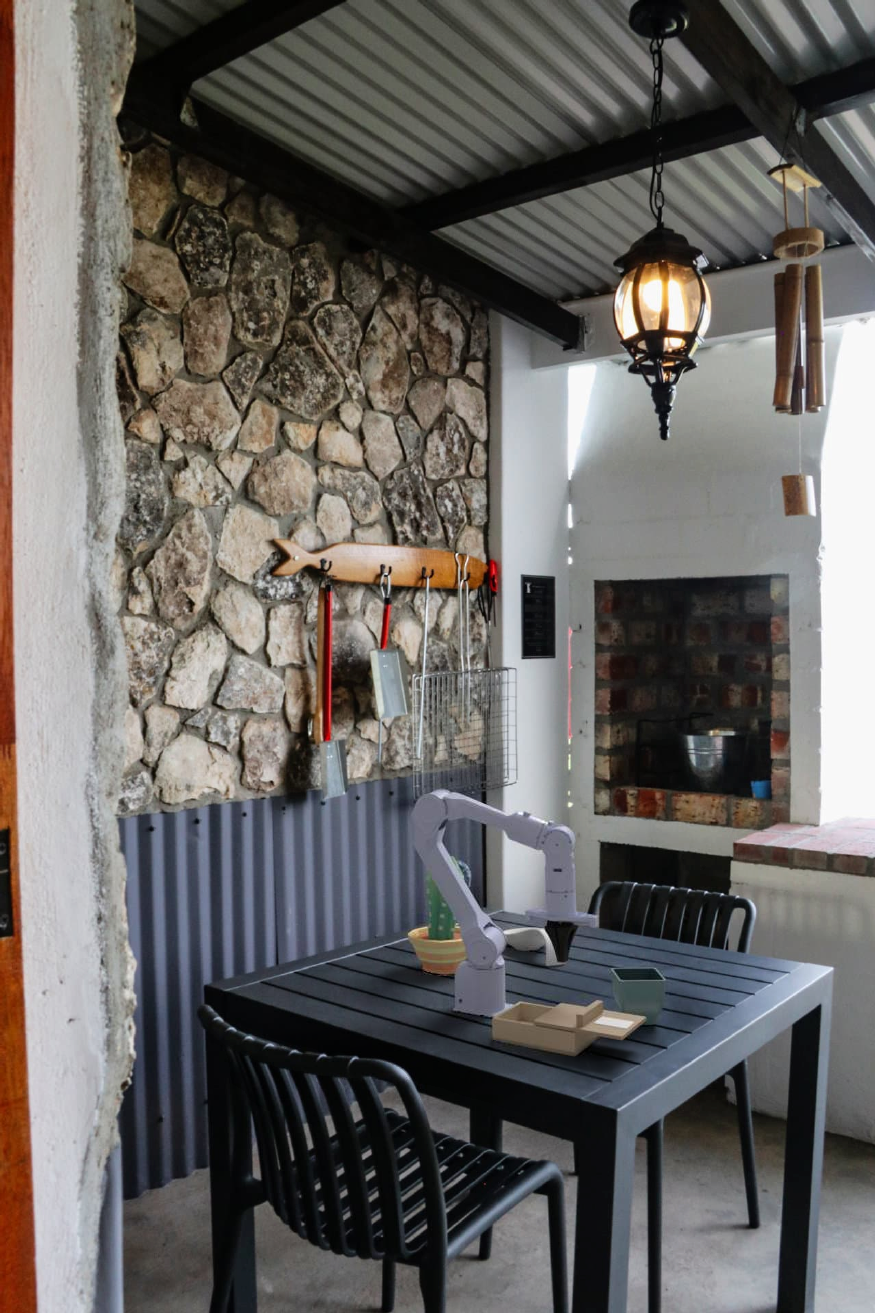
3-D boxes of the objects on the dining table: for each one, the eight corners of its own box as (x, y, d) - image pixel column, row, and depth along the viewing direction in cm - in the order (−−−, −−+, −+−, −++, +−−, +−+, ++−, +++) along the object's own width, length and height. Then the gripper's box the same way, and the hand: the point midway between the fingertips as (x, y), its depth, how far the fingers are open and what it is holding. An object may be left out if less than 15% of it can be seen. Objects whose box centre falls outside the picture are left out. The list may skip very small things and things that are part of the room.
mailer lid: (533, 1024, 188) (533, 1009, 188) (561, 1006, 198) (561, 992, 198) (622, 1040, 180) (621, 1024, 180) (646, 1020, 190) (646, 1005, 190)
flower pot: (656, 1013, 207) (655, 966, 207) (667, 1029, 198) (666, 980, 198) (610, 1014, 207) (610, 967, 207) (620, 1030, 198) (619, 981, 198)
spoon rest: (494, 944, 261) (494, 914, 261) (539, 939, 265) (538, 910, 265) (533, 969, 239) (533, 937, 239) (581, 964, 242) (581, 932, 242)
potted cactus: (478, 979, 231) (477, 862, 231) (406, 980, 231) (405, 863, 231) (477, 960, 246) (475, 850, 246) (409, 960, 246) (408, 851, 247)
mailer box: (492, 1040, 193) (492, 1018, 193) (520, 1023, 202) (520, 1001, 202) (574, 1056, 185) (574, 1033, 185) (599, 1037, 194) (599, 1014, 194)
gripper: (517, 890, 207) (519, 962, 206) (587, 897, 199) (589, 971, 199) (533, 884, 213) (535, 953, 212) (602, 890, 205) (604, 961, 205)
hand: (562, 961), depth 206 cm, fingers closed
